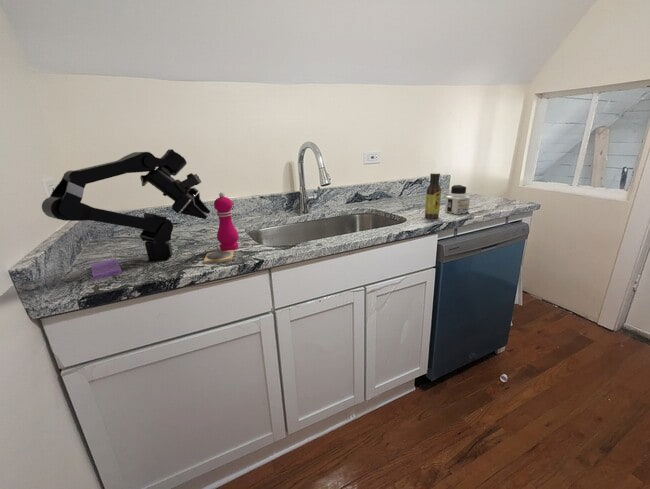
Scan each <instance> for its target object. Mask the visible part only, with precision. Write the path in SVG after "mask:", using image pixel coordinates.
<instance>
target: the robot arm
mask: <svg viewBox="0 0 650 489" xmlns="http://www.w3.org/2000/svg"><path fill="white" fill-rule="evenodd" d="M187 164H188V162H187V160H186V158H185V157H184V156H182V155H181V154H180V153H178V152H175V150H174V149H173V148H171V149H169V148H168V150H166V152H165V153H164V154H163V155H162V156H161V157H157V156H155V155H154V154H152V152H150V151H135V152H132V153H129V154H127V155H125V156H123V157H121V158H120V159H117V160H114V161H109V162H105V163H101V164H97V165H93V166H89V167H83V168H80V169H76V170H68V171H66V172H65V173H63V176H62V178H61V179H60V181H59V183H58V184H57V185H56V186H55V188H54V189H53V190H52V192H51V194H50V196H48V197H46V198H45V199H44V200H43V201H42V204H41V209H42V212H43V213H44V214H45V215H46V217H49V218H52V219H56V220H61V221H65V222H66V221H68V222H69V221H71V222H80V221H81V222H85V221H90V222H91V221H92V222H99V223H104V224H111V225H116V226H122V227H128V228H134V229H138V230H141V233H140V234H139V237H140V239H141V240H142V241H143V242H144V246H145V250H146V254H147V260H146V263H153V262H163V261H164V262H165V261H169V259H171V257H172V256H173V254H174V253H173V248H172V243H171V242H170V241H171V239H172V233H173V230H174V224H173V222H172V220H170V219H168V218H167V216H166V215H158V214H155V213H149V212H143V216H138V215H137V216H136V215H132V214H127V213H121V212H116V211H112V210H107V209H103V208H97V207H93V206H91V205H88V204H85V203H83V202H82V200H83V197H84V196H83V195H84V193H85V192H84V190H85V187H86V185H89V184H91V183H95V182H99V181H102V180H107V179H111V178H115V177H118V176H122V175H126V174H131V173H132V174H133V173H146V174H143V175H141V174H140V178H139V179H140V181H141V186H142V187H145V186H146V185H147V184H148V183H149V184H150V185H151V186H153V187H155V188H156V189H157V190H158V191H160V192H161V193H162V195H163V196H164V197H168V198H169V199H171V200H172V201H174V203H173V204H172V205H171V208H172V211H174V212H176V213H177V214H181V215H182V214H184V215H187V216H191V217H193V218H194V217H195V218H199V219H202V220H206V219H207V218H208V216H207V214H210V213H211V210H210V209H209V208H208V207H207V206H206V204H205V203H204V201H203V200H201V194H200V192H199V190H198V189H197V188H196V187H195V186H198V185H199V184H201V183H202V180H201V178H200V177H199V175H198V174H197V173H195V174H194V173H192V172H191V173H188V174H187V175H186V179H184V180H180V179H175V178H173V176H174V177H176V176H177V175H178V174H179V173H180V172H181V171H182V170H183V168H184V167H185V166H186V165H187Z"/></svg>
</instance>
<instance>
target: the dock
mask: <svg viewBox="0 0 650 489" xmlns="http://www.w3.org/2000/svg"><path fill="white" fill-rule="evenodd" d="M234 251H235V250H228V251H221V250H220V251H219V250H218V251H210V252H206V254H205V257H204V259H203V264H214V263H223V262H232V260H233V256H234Z"/></svg>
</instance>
